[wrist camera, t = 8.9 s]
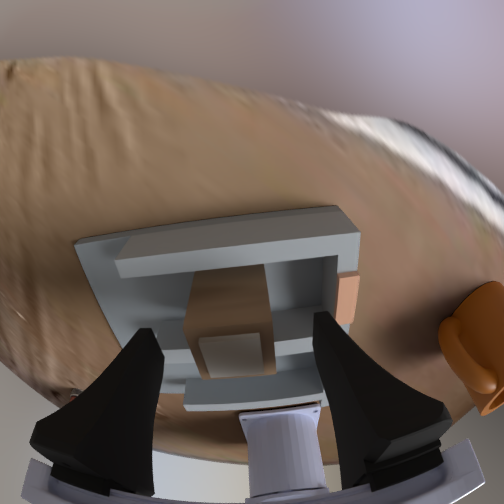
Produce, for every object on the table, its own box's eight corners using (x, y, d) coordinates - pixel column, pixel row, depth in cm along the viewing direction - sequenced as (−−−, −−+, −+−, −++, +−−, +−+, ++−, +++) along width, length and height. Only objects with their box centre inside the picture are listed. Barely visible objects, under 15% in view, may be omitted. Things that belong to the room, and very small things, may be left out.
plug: (267, 306, 17) (277, 379, 12) (209, 311, 17) (201, 384, 12) (262, 254, 15) (273, 326, 10) (196, 262, 15) (181, 334, 10)
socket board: (324, 372, 22) (334, 409, 18) (151, 385, 22) (144, 420, 19) (337, 205, 14) (363, 236, 11) (79, 239, 15) (49, 272, 11)
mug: (465, 258, 17) (538, 332, 9) (511, 290, 20) (558, 344, 12) (403, 344, 21) (447, 428, 13) (464, 353, 23) (499, 411, 15)
